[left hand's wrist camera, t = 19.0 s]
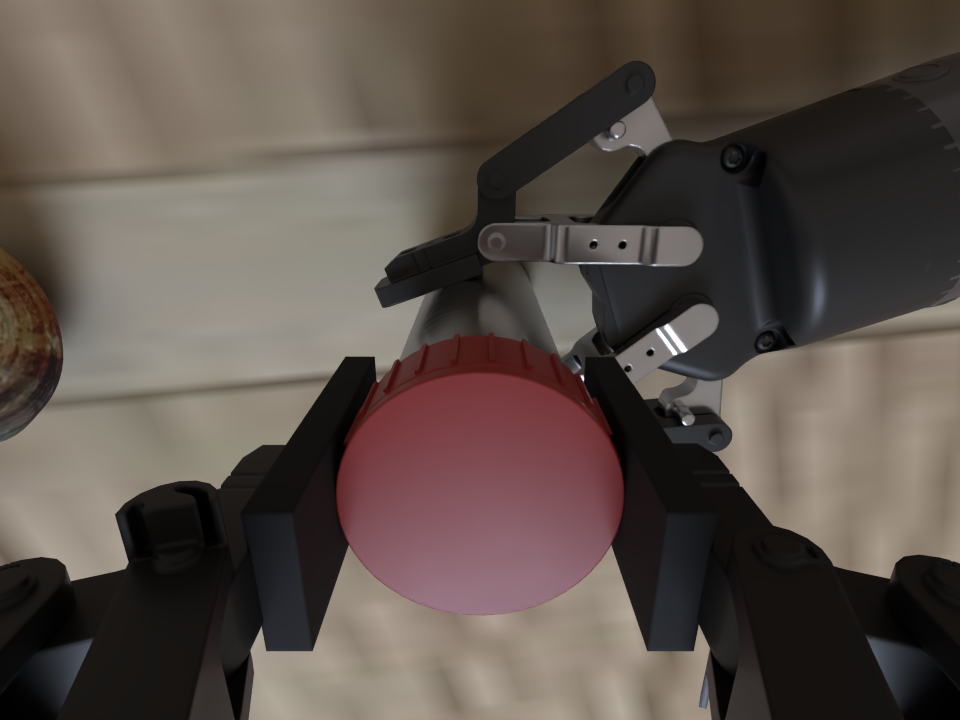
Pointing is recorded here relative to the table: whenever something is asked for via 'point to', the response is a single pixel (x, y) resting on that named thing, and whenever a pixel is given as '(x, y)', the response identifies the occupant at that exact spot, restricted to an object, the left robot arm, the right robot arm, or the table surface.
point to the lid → (480, 477)
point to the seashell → (25, 347)
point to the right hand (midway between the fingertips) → (413, 360)
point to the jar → (483, 310)
